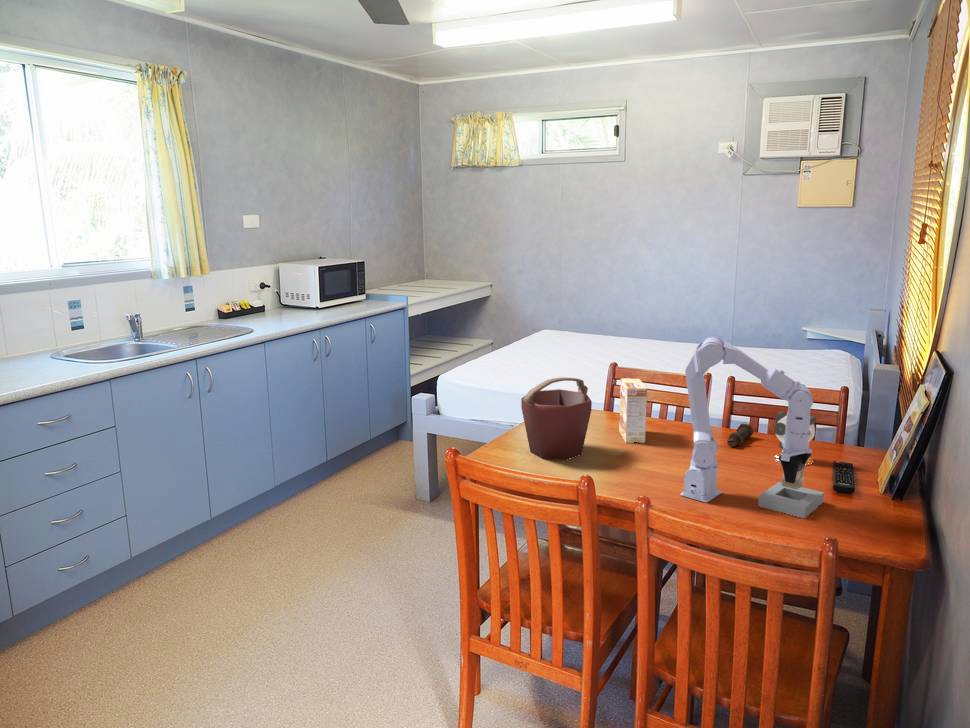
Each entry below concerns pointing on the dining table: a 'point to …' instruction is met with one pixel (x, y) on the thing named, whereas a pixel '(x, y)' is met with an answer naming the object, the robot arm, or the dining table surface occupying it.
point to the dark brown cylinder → (740, 435)
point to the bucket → (556, 420)
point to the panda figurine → (781, 428)
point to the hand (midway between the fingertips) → (792, 479)
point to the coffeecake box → (633, 410)
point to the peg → (798, 480)
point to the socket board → (791, 500)
